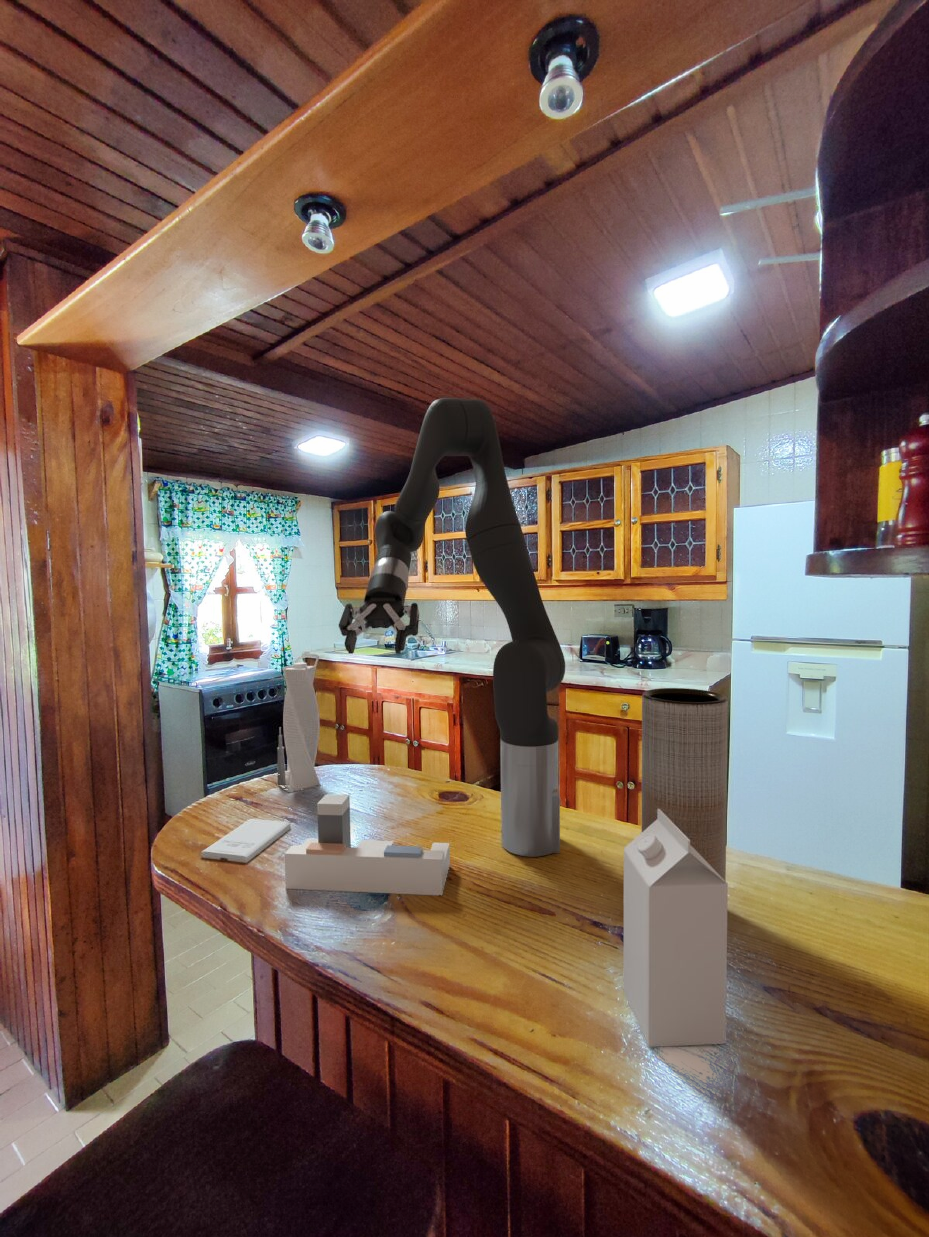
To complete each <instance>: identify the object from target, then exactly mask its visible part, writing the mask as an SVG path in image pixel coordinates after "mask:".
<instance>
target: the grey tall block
mask: <svg viewBox="0 0 929 1237" xmlns="http://www.w3.org/2000/svg"><path fill="white" fill-rule="evenodd" d="M350 802H351V801H350V794H326V793H325V795H324V796H323V797H322V798H321V799H320V800H319V801H318V802H317V803H316V804H317V805H316V807H317V809H316V811H317V837H318V838H317V839H318V843H335V844H346V847H352V842H351V840H352V839H351V805H350Z"/></svg>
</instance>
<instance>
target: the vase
mask: <svg viewBox="0 0 929 1237" xmlns="http://www.w3.org/2000/svg"><path fill="white" fill-rule="evenodd" d="M728 705H729V702H728V697H727V696H725V695H724V694H721V693H720V692H719V693H718V692H716V691H715V692H714V691H711V690H704V689H698V688H697V689H696V688H687V687H686V688H684V687H683V688H681V687H661V688H654V689H653V688H652V689H648V690H646V691H644V692H643V693H642V694H641V833H642V832H643V831H644V830H645V829H647V828H648V827H649V826H650V825H651V824H652V823H653V822H655V821H656V820H657V809H660V810H661V811H662V812H663V813H664V814H665V815H666V816H667V817H668V818H669V819H670V820H671V821H672V822H673V823H674V824H675V825H676V826H677V827H678V828H679V829H680V831H681V832H682V833H683V834H684V835H685V836H686V837H687V838H688V839H689V840H690V845H691V846H692V847H693V848H694V849H695V850H696V851H697V852H698V853H699V854H700V855H701V856H702V857H703V858H704V859H705V860H706V861H707V863H708V864H709V865H710V866H711V867H712V868H713V869H714V870H715V871H716V872H717V873H718V874H719V875H720V876H721V877H722V878H723V879H724V880H725V881H726V877H727V874H726V872H727V868H726V867H727V866H726V864H727V801H728V800H727V799H728V798H727V795H728V794H727V792H728V791H727V790H728V789H727V786H728V778H727V777H728V766H727V765H728V719H729V718H728V716H729V714H728V713H729V712H728ZM726 882H727V881H726Z"/></svg>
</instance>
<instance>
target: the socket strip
mask: <svg viewBox="0 0 929 1237" xmlns="http://www.w3.org/2000/svg"><path fill="white" fill-rule="evenodd" d="M450 847H451V846H450V843H449V842H432V845H431V848H430V849H423V846H414V845H412V846H411V845H395V844H394V840H373V839H372V840H369V839H360V842H358V844H357V845H356V847H355V846H354V847H353V846H351V847H346V844H335V843H318V838H317V837H316V838H315V837H314V838H313V837H311V838H310V837H309V838H308V837H307V838H305V839H304V841H303V842H302V844H300V845H296V844H295V845H290V847H289V848H287V850H286V851H285V852H284V874H285V875H284V876H285V878H284V881H285V889H287V890H289V889H290V890H307V891H308V890H311V891H312V890H313V891H327V892H329V891H330V892H352V893H353V892H354V893H371V894H372V893H374V894H375V893H376V894H394V895H395V894H397V895H399V894H400V895H416V896H417V895H418V896H419V895H420V896H421V895H422V896H439V895H441V896H443V895H444V891H443V890H445V887H446V883H445V882H447V879H446V878H448V875H449V871H450V868H451V864H450V863H451V858H450V857H451V856H450V854H451V853H450V852H451V850H450V849H451V848H450ZM449 867H450V868H449ZM448 870H449V871H448ZM447 874H448V875H447ZM444 886H445V887H444ZM441 896H440V897H441Z"/></svg>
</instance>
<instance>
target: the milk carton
mask: <svg viewBox="0 0 929 1237" xmlns="http://www.w3.org/2000/svg"><path fill="white" fill-rule="evenodd" d="M728 885H729V883H728V882H727V881H725V880H724V879H723V878H722V877H721V876H720V875H719V874H718V873H717V872H716V871H715V870H714V869H713V868H712V867H711V866H710V865H709V864H708V863H707V861H706V860H705V859H704V858H703V857H702V856H701V855H700V854H699V853H698V852H697V851H696V850H695V849H694V848H693V847H692V846H691V845H690V840H689V839H688V838H687V837H686V836H685V835H684V834H683V833H682V832H681V831H680V829H679V828H678V827H677V826H676V825H675V824H674V823H673V822H672V821H671V820H670V819H669V818H668V817H667V816H666V815H665V814H664V813H663V812H662V811H661V810H660V809H657V820H656V821H655V822H653V823H652V824H651V825H650V826H649V827H648V828H647V829H645V830H644V831H643V832H642V831H641V833H640V834H638V835H637V836H636V837H635V838H634V839H633V840H631V842H629V843H628V844H627V845H626V846H625V847H624V848H623V992H624V995H625V997H626V999H627V1002H628V1004H629V1006H630V1009H631V1011H632V1013H633V1015H634V1018H635V1020H636V1022H637V1025H638V1027H639V1029H640V1031H641V1034H642V1036H643V1038H644V1041H645V1043H646V1045H647V1046H648V1047H649V1048H650V1047H651V1048H652V1047H654V1048H655V1047H677V1046H679V1047H680V1046H697V1045H698V1046H699V1045H703V1046H704V1045H722V1044H726V1041H727V976H728V975H727V968H728V967H727V962H728V961H727V960H728V953H727V952H728Z"/></svg>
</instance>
